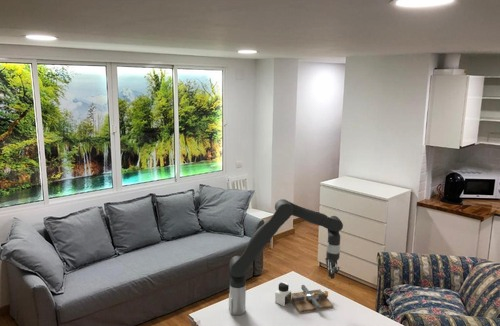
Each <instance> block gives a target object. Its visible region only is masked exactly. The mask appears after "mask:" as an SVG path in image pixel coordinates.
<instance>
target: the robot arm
mask: <svg viewBox="0 0 500 326" xmlns="http://www.w3.org/2000/svg"><path fill="white" fill-rule="evenodd" d="M274 210H275V212H274V213H273V215H272V216H271V218H270V219H269V220H268V221H266V222H265V223H264V224H262V225H261V226H260V227H258V228H257V230H256V231H255V232H254V234H252V236H251V237H250V238H249V241H248V243H247V245H246V248H245V250H244V252H243V253H242V255H234V256H233V257H232V258H231V259H230V260H229V265H228V266H229V267H228V268H229V272H228V273H229V277H228V278H229V294H228V310H229V312H230V315H231V316H232V315H233V316H241V315H242V316H243V314H245V313H246V299H247V298H246V294H247V293H246V292H247V291H246V289H247V284H246V283H247V278H246V273H247V272H248V270H249V268H250V267H251V265H252V264H253V262H254V261H255V260H256V258H258V256H259V255H260V253H262V251H263V249H265V247H267V245H268V243H269V242H270V241H271V240H272V238H273V237H274V236H275V234H277V232H278V230H279V229H280V228H281V227H282V226H283V225H284V224H285V223H286V222H287V221H288V220H289V219H290V218H291V216H294V217H296V218H300V219H301V220H304V221H305V222H307V223H309V224H311V225H312V224H313V225H317V226H319V227H323V228H325V229H326V230H327V235H328V236H327V243H326V255H325V263H326V269H327V271H328V278H330V279H331V280H333V279H335V274H338V272H339V271H340V268H341V267H340V266H338V261H339V259H340V254H341V234H340V231H342V229H343V227H344V223H343V222H342V220H341V219H340V218H339V217H338V216H336V215H332V216H330V217H329V216H328V215H326V214H325V213H322V212H318V211H315V210H311V209H308V208H305V207H302V206H300V205H298V204H295V203H293V202H291V201H289V200H287V199H283V198H282V199H279V200H277V201H276V202H275V204H274Z"/></svg>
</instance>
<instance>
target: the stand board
mask: <svg viewBox="0 0 500 326" xmlns="http://www.w3.org/2000/svg"><path fill="white" fill-rule="evenodd" d="M311 291H315V292H317V293H320V292H323V291H322V290H321V289H313V290H311ZM299 295H304V296H305V293H304V292H303V291H299V292H291V301H290V303H292V305H293V307H294V308H295V310H296V311H297V313H298V314H301V313H302V314H304V313H308V312H314V311H320V310H326V309H327V310H328V309H333V308H334V305H333V303H332V302H331V301H330V299H329V298H328V297H322V298H319V299H318V301H317V302H318V304H319V305H320V309H316V308H315V306H314V305H313V304H312V302H308V301H307V300H306V299H305V300H302V301H295V302H293V301H292V297H293V296H299Z"/></svg>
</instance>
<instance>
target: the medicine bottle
mask: <svg viewBox="0 0 500 326" xmlns="http://www.w3.org/2000/svg"><path fill="white" fill-rule="evenodd" d="M277 289H278V290H276V291H275V292H274V295H275V296H274V302H275V303H276V304H278V305H280V306H282V307H286V306H287V305H288V304H289V303H291V293H292V291H291V290H289V283H287V282H284V281H283V282H279V283H278V288H277Z"/></svg>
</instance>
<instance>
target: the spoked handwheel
mask: <svg viewBox="0 0 500 326" xmlns="http://www.w3.org/2000/svg"><path fill="white" fill-rule="evenodd" d="M300 288H301V290H302V292H304V293H305V296H304V295H299V296H293V297H292V301H293V302H295V301H302V300H305V299H306V300H307V301H308V302H312V304H313V305H314V306H315V308H316V309H320V305H319V304H318V302H317V301H318V299H319V298H322V297H327V298H328V297H329V291H327V290H325V291H324V290H323V291H322V292H320V293H317V292H315V291H312V290H309V289H308V288H307V286H306V285H305V284H302V285H301V286H300Z"/></svg>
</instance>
